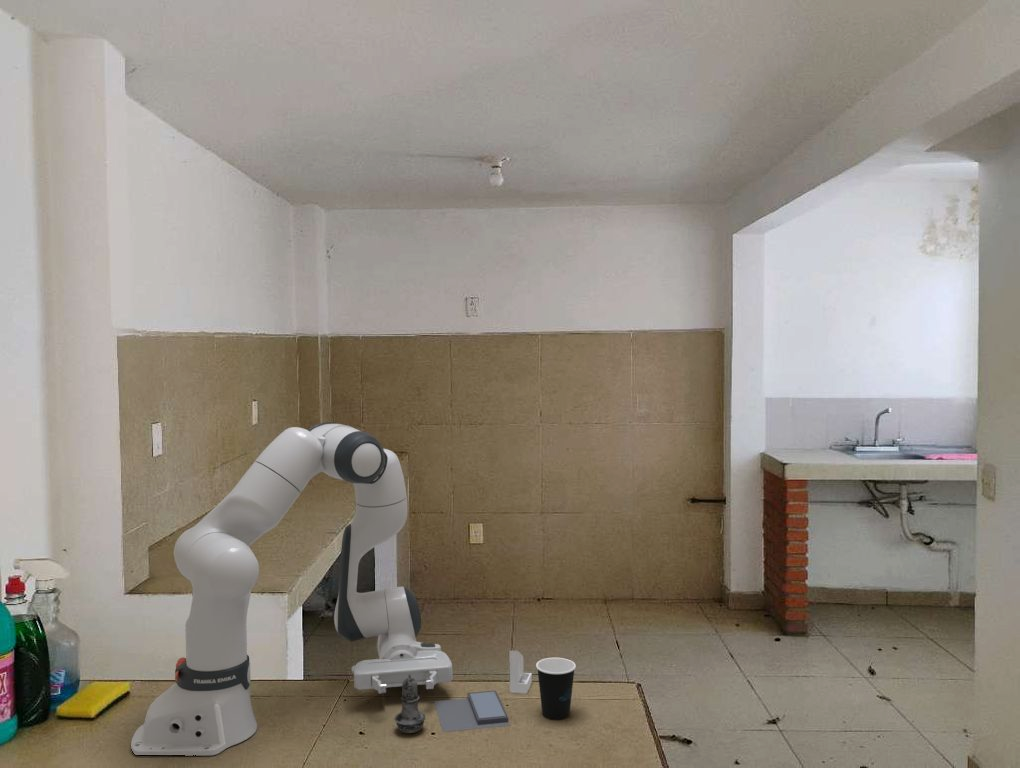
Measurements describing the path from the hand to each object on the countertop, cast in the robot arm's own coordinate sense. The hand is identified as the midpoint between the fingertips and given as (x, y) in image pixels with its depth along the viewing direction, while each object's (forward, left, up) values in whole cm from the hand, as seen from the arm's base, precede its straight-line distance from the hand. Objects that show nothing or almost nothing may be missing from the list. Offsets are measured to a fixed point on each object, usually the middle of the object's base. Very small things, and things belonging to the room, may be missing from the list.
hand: (406, 687), depth 169 cm
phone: (+16, -1, -5) cm, 17 cm away
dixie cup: (+29, -6, -7) cm, 30 cm away
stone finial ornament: (0, -7, -7) cm, 10 cm away
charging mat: (+13, -2, -6) cm, 14 cm away
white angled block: (+25, +8, -7) cm, 27 cm away
